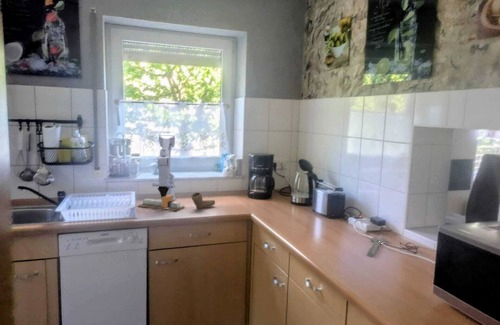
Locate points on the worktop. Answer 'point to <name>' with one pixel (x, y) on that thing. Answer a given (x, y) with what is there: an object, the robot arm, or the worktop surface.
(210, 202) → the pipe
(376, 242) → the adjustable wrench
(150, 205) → the stand
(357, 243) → the worktop surface
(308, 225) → the worktop surface
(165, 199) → the collar
